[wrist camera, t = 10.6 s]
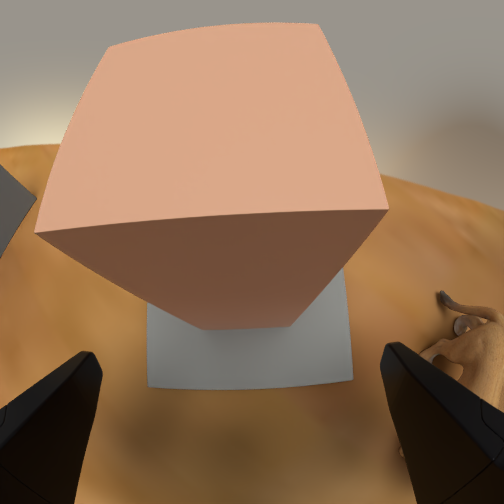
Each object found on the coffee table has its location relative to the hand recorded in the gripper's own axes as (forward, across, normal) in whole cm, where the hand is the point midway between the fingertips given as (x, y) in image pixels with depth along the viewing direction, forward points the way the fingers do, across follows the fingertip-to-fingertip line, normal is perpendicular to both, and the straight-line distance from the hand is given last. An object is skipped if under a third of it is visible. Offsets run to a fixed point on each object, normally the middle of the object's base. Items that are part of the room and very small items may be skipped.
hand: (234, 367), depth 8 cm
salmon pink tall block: (+9, 0, +3) cm, 9 cm away
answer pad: (+10, 0, +3) cm, 10 cm away
